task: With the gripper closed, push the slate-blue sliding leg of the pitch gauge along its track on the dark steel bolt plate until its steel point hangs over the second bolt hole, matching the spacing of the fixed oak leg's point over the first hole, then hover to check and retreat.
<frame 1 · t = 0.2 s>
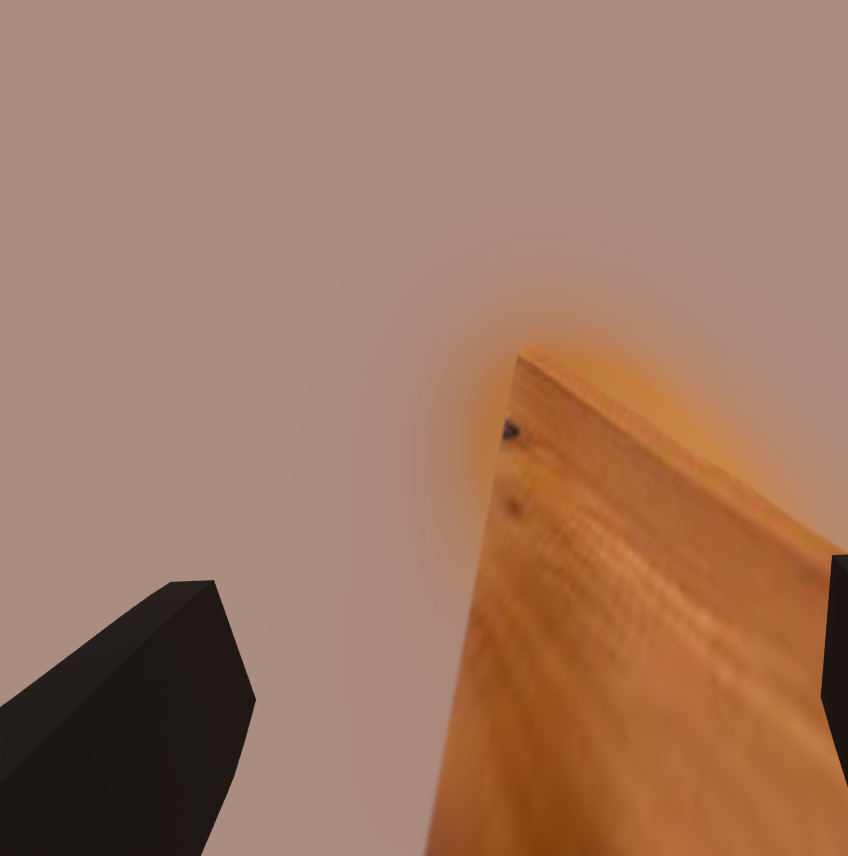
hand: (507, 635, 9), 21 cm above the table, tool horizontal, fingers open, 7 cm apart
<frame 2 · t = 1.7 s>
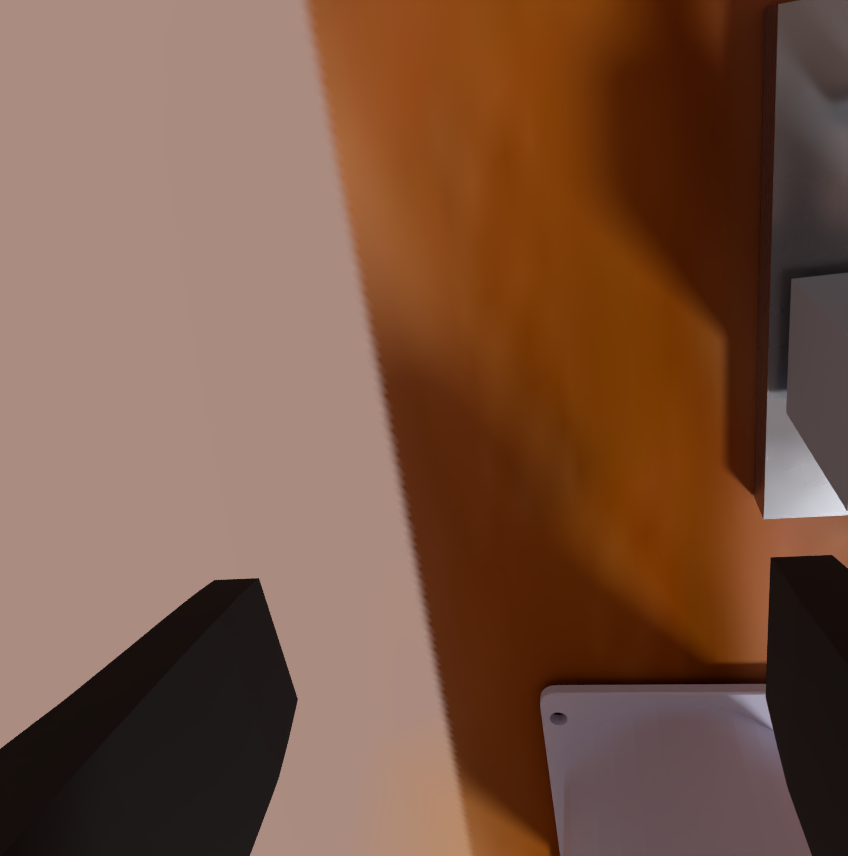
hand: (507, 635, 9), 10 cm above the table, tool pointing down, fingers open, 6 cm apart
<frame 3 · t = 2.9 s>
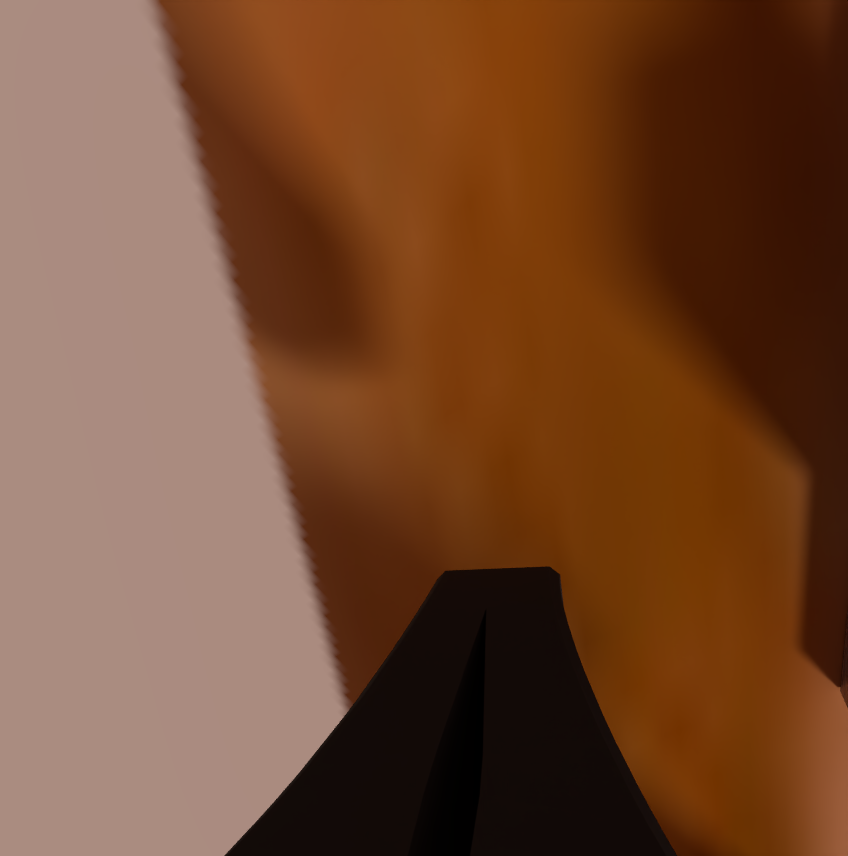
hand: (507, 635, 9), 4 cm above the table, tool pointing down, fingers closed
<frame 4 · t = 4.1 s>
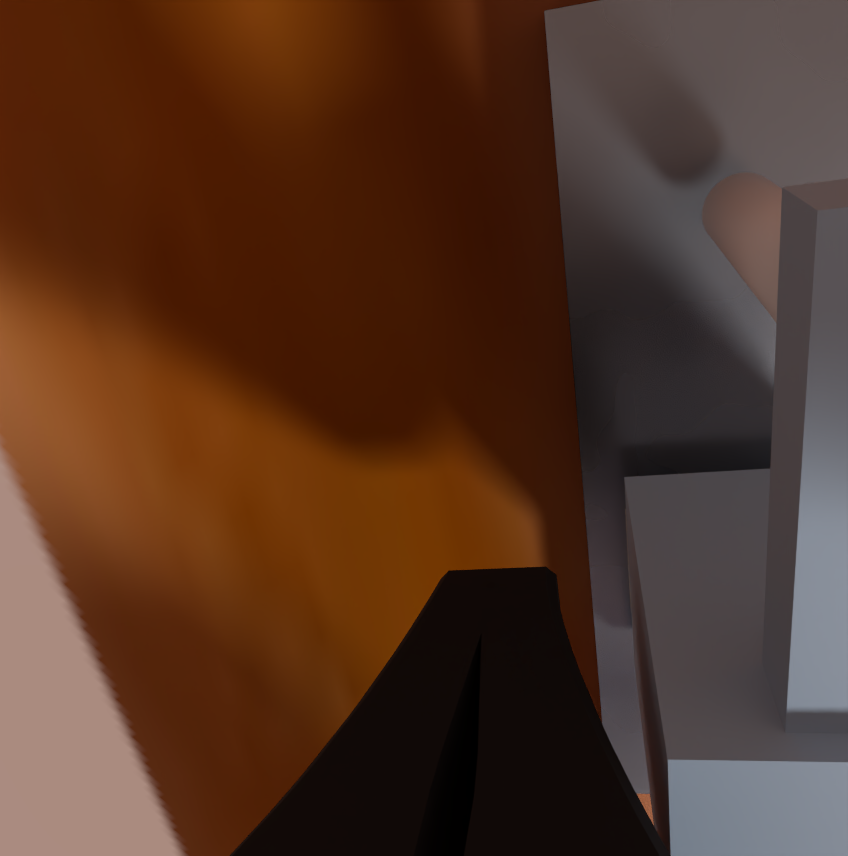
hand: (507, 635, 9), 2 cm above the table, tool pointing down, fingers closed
sliding leg: (777, 546, 7), point 3 cm above the table, slide at 0.2 cm, touching gripper
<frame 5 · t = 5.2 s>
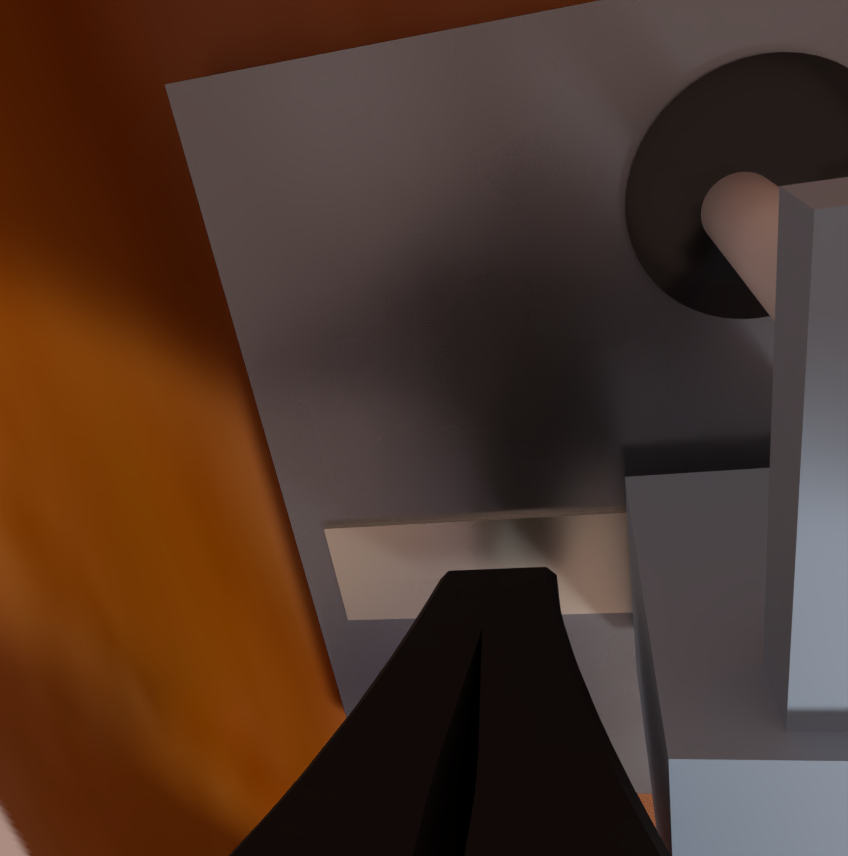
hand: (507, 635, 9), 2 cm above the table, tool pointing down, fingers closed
sliding leg: (777, 545, 7), point 3 cm above the table, slide at 4.2 cm, touching gripper
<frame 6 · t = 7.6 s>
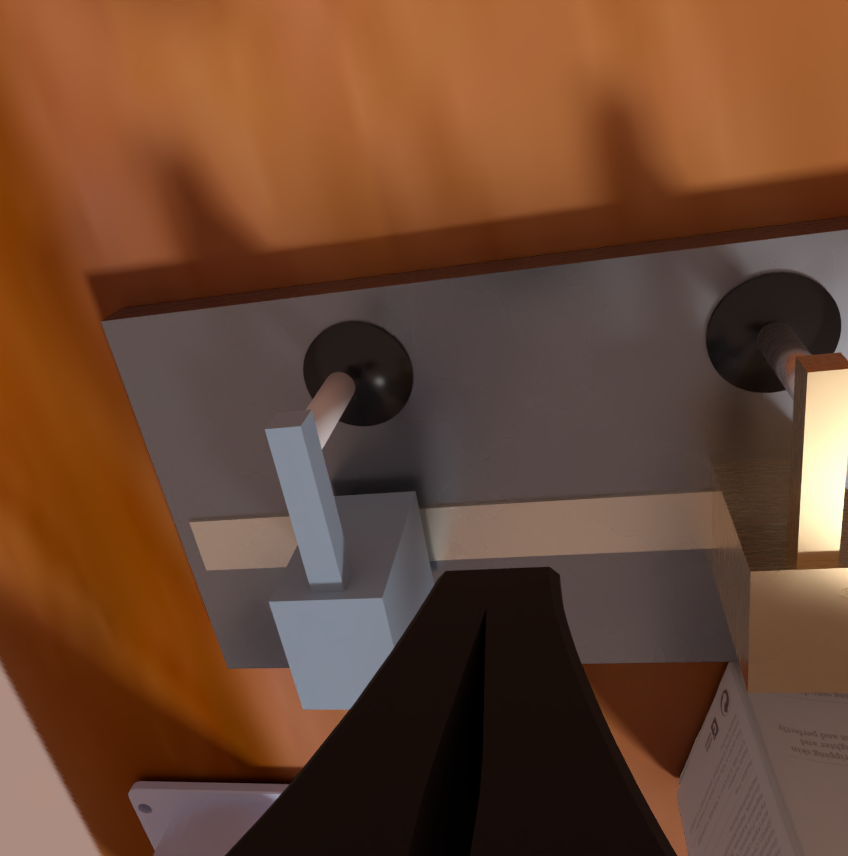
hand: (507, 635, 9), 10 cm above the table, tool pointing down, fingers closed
bolt plate: (506, 473, 19), on the table
sliding leg: (345, 527, 17), point 3 cm above the table, slide at 4.2 cm
skincare box: (844, 738, 22), on the table
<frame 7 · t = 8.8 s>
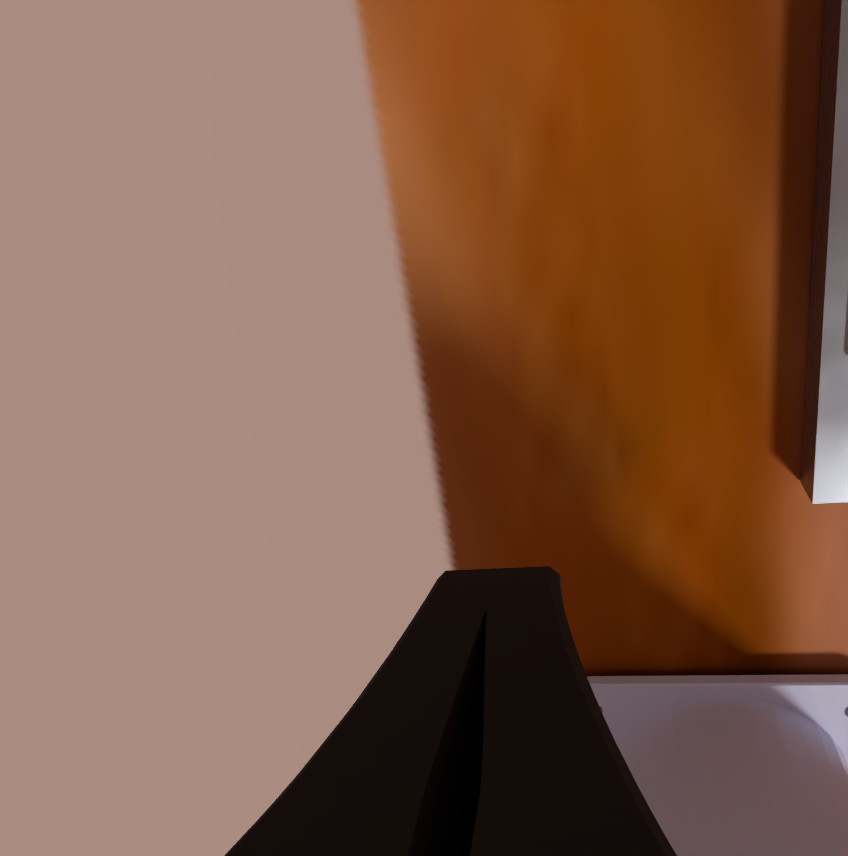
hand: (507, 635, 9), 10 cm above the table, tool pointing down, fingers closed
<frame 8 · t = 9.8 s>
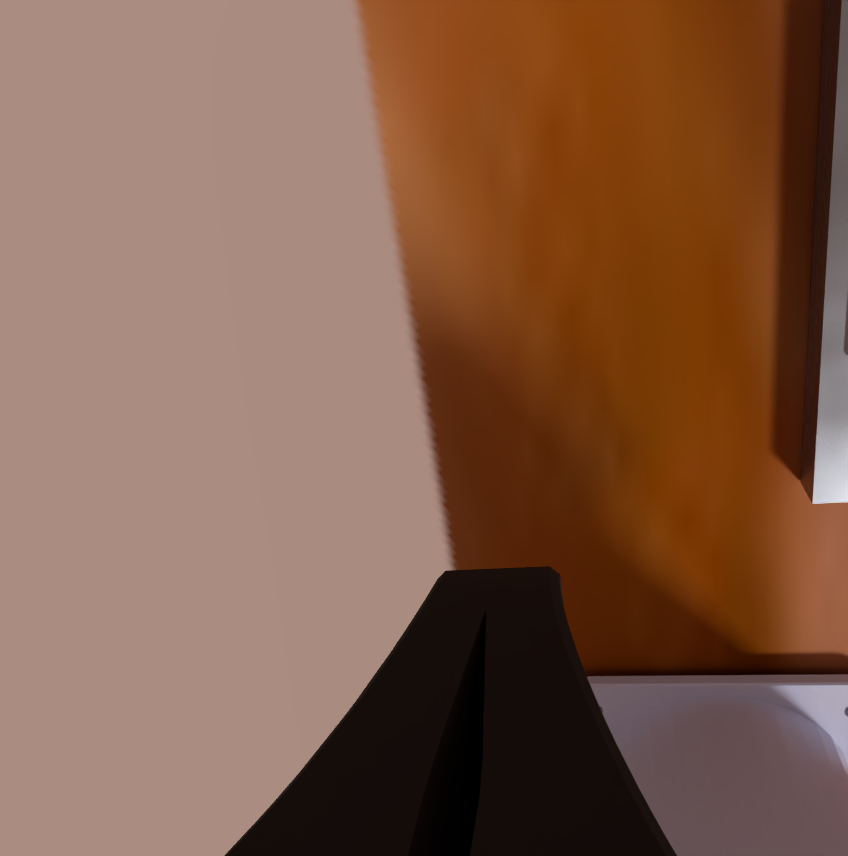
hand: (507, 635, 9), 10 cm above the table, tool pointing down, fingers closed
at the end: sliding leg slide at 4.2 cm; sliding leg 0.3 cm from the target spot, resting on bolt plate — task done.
